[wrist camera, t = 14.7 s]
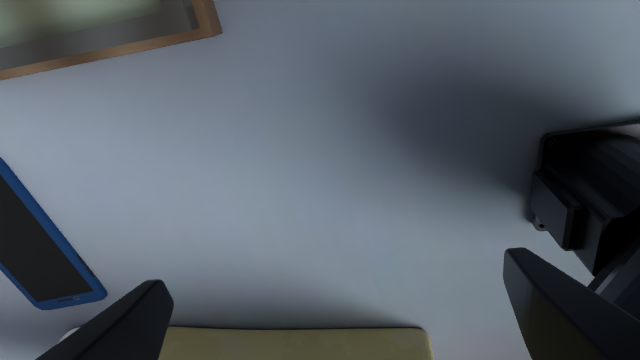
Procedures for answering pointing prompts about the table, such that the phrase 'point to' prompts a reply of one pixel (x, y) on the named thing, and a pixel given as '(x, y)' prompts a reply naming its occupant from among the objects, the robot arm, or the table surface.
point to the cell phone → (40, 252)
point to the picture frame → (94, 30)
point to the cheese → (296, 344)
